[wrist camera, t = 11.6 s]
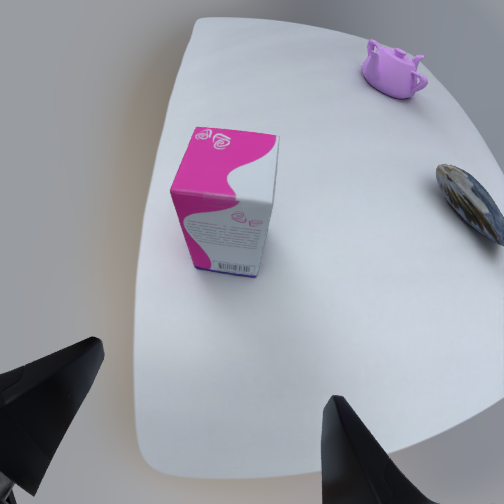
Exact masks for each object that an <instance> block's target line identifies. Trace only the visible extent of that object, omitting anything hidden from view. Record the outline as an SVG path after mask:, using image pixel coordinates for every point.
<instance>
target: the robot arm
mask: <svg viewBox="0 0 504 504" xmlns="http://www.w3.org/2000/svg"><path fill="white" fill-rule="evenodd" d="M103 360H104V349H103V344H102V341H101V340H100V339H99V338H96V337H89V338H87V339H85V340H82V341H80V342H78V343H75V344H73V345H71V346H68V347H66V348H64V349H62V350H59V351H57V352H54V353H52V354H50V355H48V356H46V357H43V358H40V359H38V360H36V361H33V362H32V363H28V364H26V365H25V366H21V367H19V368H16V369H14V370H11V371H9V372H6V373H3V374H0V504H17V503H16V500H15V497H14V494H13V491H12V488H13V486H14V484H15V483H16V484H17V485H18V486H20V487H21V488H22V489H24V490H25V491H26V492H28V493H29V494H31V495H32V496H35V494H36V492H37V490H38V488H39V485H40V483H41V481H42V479H43V477H44V475H45V473H46V470H47V468H48V466H49V464H50V462H51V460H52V458H53V456H54V454H55V452H56V450H57V448H58V446H59V444H60V442H61V440H62V439H63V437H64V435H65V433H66V431H67V429H68V427H69V425H70V424H71V422H72V420H73V418H74V416H75V415H76V413H77V411H78V409H79V408H80V406H81V404H82V402H83V400H84V399H85V397H86V395H87V393H88V392H89V390H90V388H91V386H92V384H93V382H94V380H95V377H96V375H97V373H98V370H99V369H100V366H101V364H102V362H103ZM321 465H322V504H439V503H435V502H433V501H431V500H429V499H428V498H427V497H425V496H424V495H423V494H422V493H421V492H420V491H419V490H418V489H417V488H416V487H415V486H414V485H413V484H412V483H411V482H410V481H409V480H408V479H407V478H406V477H405V475H404V474H403V473H402V472H401V471H400V470H399V469H398V467H397V466H396V465H395V464H394V463H393V461H392V460H391V459H390V458H389V456H388V455H387V453H386V452H385V451H384V450H383V448H382V447H381V446H380V444H379V443H378V442H377V440H376V439H375V438H374V436H373V435H372V434H371V433H370V431H369V430H368V429H367V427H366V426H365V425H364V423H363V422H362V421H361V419H360V418H359V417H358V415H357V414H356V413H355V411H354V410H353V409H352V407H351V406H350V405H349V403H348V402H347V401H346V399H345V398H344V397H343V396H339V395H333V396H331V398H330V399H329V401H328V403H327V404H326V406H325V407H324V410H323V421H322V436H321Z"/></svg>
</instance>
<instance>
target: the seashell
mask: <svg viewBox="0 0 504 504" xmlns="http://www.w3.org/2000/svg"><path fill="white" fill-rule="evenodd" d="M436 177H437V181H438V184H439V186H440V188H441V190H442V192H443V194H444V196H445V197H446V199H447V200H448V202H449V203H450V204H451V206H452V207H453V208H454V209H455V210H456V211H457V212H458V213H459V214H460V215H461V216H462V218H463V219H464V220H465V221H466V222H467V223H468V224H470V225H471V226H473V227H474V228H475V229H476V230H477V231H479V232H480V233H481V234H483V235H484V236H486V237H489V238H490V239H491V240H492V241H494V242H495V243H497V244H499V245H502V246H504V217H503V215H502V213H501V212H500V210H499V208H498V207H497V205H496V204H495V202H494V201H493V199H492V197H491V196H490V195H489V193H488V192H487V191H486V190H485V188H484V187H483V186H482V185H481V184H480V183H479V182H478V181H477V180H476V179H475V178H474V177H473V176H472V175H470V174H469V173H467V172H466V171H464V170H462V169H460V168H457V167H455V166H452V165H447V164H441V165H438V167H437V169H436Z"/></svg>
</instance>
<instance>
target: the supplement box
mask: <svg viewBox="0 0 504 504" xmlns="http://www.w3.org/2000/svg"><path fill="white" fill-rule="evenodd" d="M279 138H280V137H279V136H277V135H270V134H263V133H255V132H247V131H238V130H228V129H218V128H206V127H196V128H195V130H194V133H193V135H192V137H191V140H190V142H189V145H188V148H187V150H186V152H185V154H184V157H183V159H182V162H181V164H180V166H179V169H178V171H177V174H176V176H175V179H174V181H173V184H172V186H171V189H170V193H171V197H172V200H173V203H174V206H175V209H176V212H177V215H178V218H179V222H180V225H181V228H182V231H183V234H184V237H185V240H186V243H187V246H188V249H189V252H190V255H191V258H192V261H193V264H194V266H195V268H197V269H202V270H208V271H214V272H220V273H227V274H233V275H239V276H247V277H253V278H256V277H257V274H258V270H259V266H260V262H261V258H262V253H263V248H264V244H265V239H266V235H267V230H268V226H269V221H270V217H271V213H272V208H273V203H274V195H275V185H276V175H277V164H278V150H279Z"/></svg>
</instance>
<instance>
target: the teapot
mask: <svg viewBox="0 0 504 504" xmlns="http://www.w3.org/2000/svg"><path fill="white" fill-rule="evenodd" d="M374 46H376V47H377V48H378V50H377V51H374ZM367 48H368V57H367V59H366V60H365V61H364V63H363V65H362V72H363V74H364V76H365V78H366V80H367V81H368V82H369V83H370V84H371V85H372V86H373V87H375V88H376V89H378V90H379V91H381V92H383V93H385V94H387V95H389V96H391V97H394V98H399V99H404V98H409V97H411V96H413V95H414V94H415V92H416V91H419V90H421V89H423V88H425V87H426V85H427V84H428V80H427V78H426V77H424V76H423V75H421V74H419V73H417V72H416V70H417V67H418V64H419V61H420V60H421V59H422V58H423V57H424V55H417V56H415V57H414V58H413V59H412V60H411V59H409V58H408V57H407V56H405V55H406V53H405V52H404V51H403V50H401V49H399V48H395V50H393V49H390V48H382V47H381V45H380V44H379V43H377V42H376V41H375V40H372V39H370V40H369V41H368V46H367ZM417 77H418V78H419V79H420V82H419V83H418V84H417Z"/></svg>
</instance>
